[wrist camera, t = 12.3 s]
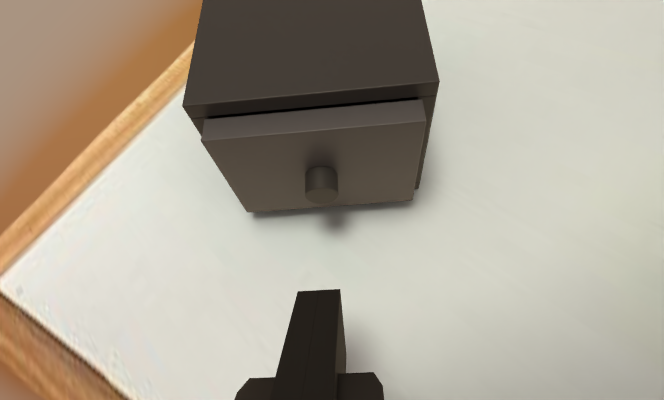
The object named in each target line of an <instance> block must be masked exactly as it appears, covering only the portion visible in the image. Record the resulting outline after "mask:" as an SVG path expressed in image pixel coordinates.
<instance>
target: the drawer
mask: <svg viewBox="0 0 664 400" xmlns="http://www.w3.org/2000/svg"><path fill="white" fill-rule="evenodd" d="M233 116H234V117H226V118H215V119H205V120H204V125H203V132H202V138H201V142H202V143H203V145H204V146H205V148H206V150H207V151H208V153H209V154H210V156H211V157H212V159H213V160H214V162H215V163H216V165H217V167H218V168H219V170H220V171H221V173H222V174H223V176H224V177H225V179H226V180H227V182H228V183H229V185H230V187H231V188H232V190H233V191H234V193H235V194H236V196H237V197H238V199H239V200H240V202H241V204H242V205H243V207H244V208H245V210H246V211H247V212H261V211H275V210H288V209H301V208H314V207H328V206H341V205H354V204H368V203H381V202H394V201H407V200H412V199H413V194H414V188H415V182H416V176H417V171H418V165H419V159H420V154H421V148H422V142H423V137H424V131H425V125H426V117H425V111H424V106H423V101H422V99H419V100H408V101H400V98H399V99H388V100H377V101H367V102H356V103H345V104H335V105H324V106H313V107H303V108H292V109H281V110H271V111H260V112H249V113H239V114H233Z"/></svg>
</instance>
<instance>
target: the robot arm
mask: <svg viewBox="0 0 664 400" xmlns="http://www.w3.org/2000/svg"><path fill="white" fill-rule="evenodd" d="M235 400H384V395H383V386H382V384H381V383H380V381H379V380H378V378H377V377H376V375H375V373H374V372H368V373H346V346H345V336H344V326H343V315H342V305H341V294H340V289H335V290H317V291H299V292H298V293H297V297H296V301H295V304H294V308H293V312H292V316H291V320H290V323H289V327H288V331H287V335H286V339H285V343H284V346H283V350H282V354H281V358H280V362H279V365H278V369H277V373H276V377H272V378H249V380H248V381H247V382H246V383H245V384H244V385H243V387H242V388H241V389H240V390H239V391H238V392H237V395H236V397H235Z"/></svg>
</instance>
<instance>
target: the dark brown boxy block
mask: <svg viewBox="0 0 664 400" xmlns="http://www.w3.org/2000/svg"><path fill="white" fill-rule="evenodd" d="M439 82H440V81H439V77H438V72H437V68H436V63H435V59H434V55H433V50H432V46H431V41H430V37H429V32H428V28H427V24H426V19H425V15H424V10H423V6H422V1H421V0H203V3H202V9H201V14H200V19H199V24H198V29H197V34H196V39H195V44H194V49H193V54H192V59H191V64H190V69H189V74H188V80H187V85H186V90H185V95H184V100H183V105H182V106H183V108H184V110H185V111H186V113H187V114H188V116H189V117H190V118H191V120H192V122H193V123H194V125H195V127H196V128H197V130H198V131H199V133H200V134H201V136H202V132H203V125H204V120H205V119H215V118H226V117H234V116H233V114H239V113H249V112H260V111H271V110H281V109H292V108H303V107H313V106H324V105H335V104H345V103H356V102H367V101H377V100H388V99H399V98H400V101H408V100H419V99H422V101H423V106H424V111H425V117H426V125H425V131H424V137H423V142H422V148H421V154H420V159H419V165H418V171H417V176H416V182H415V188H414V189H417V188H419V183H420V179H421V173H422V168H423V163H424V158H425V153H426V148H427V143H428V137H429V132H430V127H431V122H432V117H433V112H434V107H435V102H436V96H437V92H438V87H439Z"/></svg>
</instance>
